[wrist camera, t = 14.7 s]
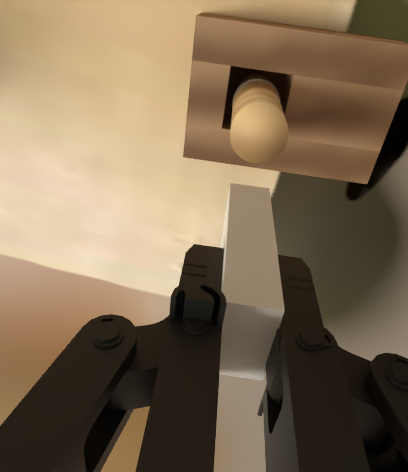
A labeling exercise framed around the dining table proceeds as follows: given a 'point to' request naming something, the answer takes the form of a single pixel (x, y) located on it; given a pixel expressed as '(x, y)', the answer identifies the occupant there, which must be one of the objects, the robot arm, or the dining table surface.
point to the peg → (257, 120)
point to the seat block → (298, 93)
